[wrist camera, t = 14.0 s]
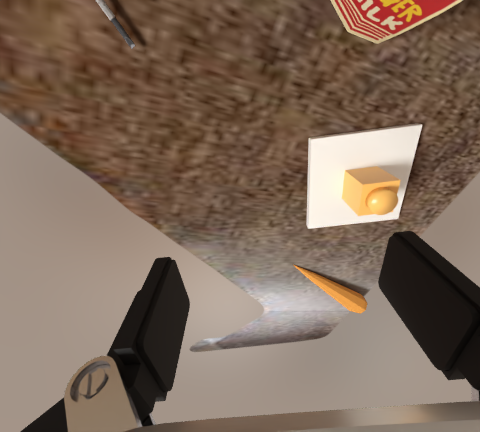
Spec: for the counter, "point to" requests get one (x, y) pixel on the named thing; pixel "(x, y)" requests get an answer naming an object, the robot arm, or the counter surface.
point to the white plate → (354, 157)
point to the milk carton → (387, 16)
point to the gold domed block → (370, 191)
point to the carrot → (338, 292)
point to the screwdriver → (115, 22)
